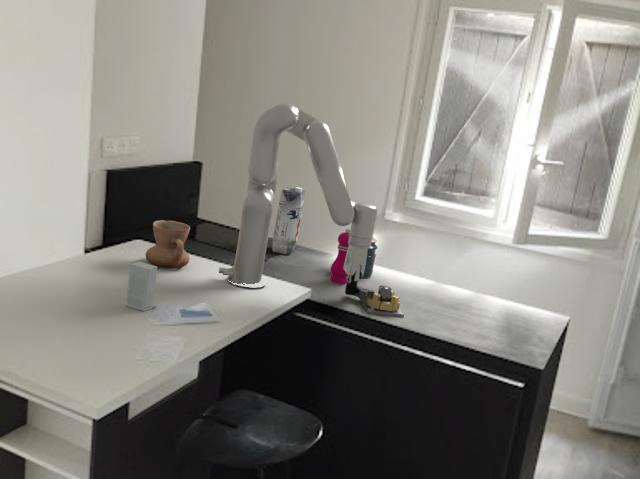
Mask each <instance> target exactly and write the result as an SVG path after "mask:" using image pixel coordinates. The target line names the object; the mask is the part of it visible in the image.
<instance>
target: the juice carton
mask: <svg viewBox="0 0 640 479" xmlns="http://www.w3.org/2000/svg"><path fill="white" fill-rule="evenodd" d="M305 194H306V191H305V190H303V188H302V187H299V186H296V187H295V188H292V187H285V188H284V189H281V193H280V196H279V202H278V206H277V213H276V219H275V226H274V231H273V238H272V243H271V244H272V245H271V246H272V247H271V248H272V252H273V253H279V254H283V255H287V256H290V255H291V254H292V253H293V252H294V251H295V248H296V246H297V243H298V238H299V233H300V226H301V221H302V215H303V209H304V205H305V204H304V202H305Z"/></svg>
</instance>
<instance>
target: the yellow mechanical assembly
mask: <svg viewBox="0 0 640 479" xmlns="http://www.w3.org/2000/svg"><path fill="white" fill-rule="evenodd" d="M395 293H396V292H395V290H393V289H391V293H390V298H389V302H384V301H380V298H381V295H380V294H378V292H375V291H374V290H372V289H369V288H364V287H362V286H358V285H357V288H356V293H355V295H354V297H357V298H358V299H359V300H360V299H362V300H365V302H366V303H367V305H369V306H372V307H374V308H377V309H380V310H388V311H394V310H398V309H400V306H401V301H400V296H397V295H395Z"/></svg>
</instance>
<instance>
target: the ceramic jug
mask: <svg viewBox="0 0 640 479" xmlns="http://www.w3.org/2000/svg"><path fill="white" fill-rule="evenodd" d="M152 230H153V236H154V239H155V243H156V244H155V245H153V246H151V247H150V248H148V249H147V250H146V252H145V259H146V261H147V262H148V263H149V264H150V265H153V266H157V268H163V269H167V270H168V269H170V270H173V269H174V268H175V269H179V268H180V269H181V268H183V267H186V266H187V265H189V262H190V255H189V254H188V252H187V251H186V250H185V249H184V245H185V243H186V240H187V239H188V236H189V234H190V230H191V226H190V225H188V224H186V223H183V222H179V221H175V220H167V221H166V219H165V220H163V219H162V220H155V221H154V222H152Z"/></svg>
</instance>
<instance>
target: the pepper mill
mask: <svg viewBox="0 0 640 479" xmlns="http://www.w3.org/2000/svg"><path fill="white" fill-rule="evenodd" d="M350 230H351V228H347V227H346V228H345V232H342V233H341V232H340V234H339V235H338V237H337V241H338V244H337V249H338V250H337V251H338V252H337V256H336V257H335V259H334V260H333V262H332V264H331V265H330V272H331V275H330V277H329V282H332V283H334V284H336V285H346V284H347V278H348V274H347V273H346V272H345V270H344V263H345V258H346V254H347V250H348V247H349V244H348V240H349V235H350Z"/></svg>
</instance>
